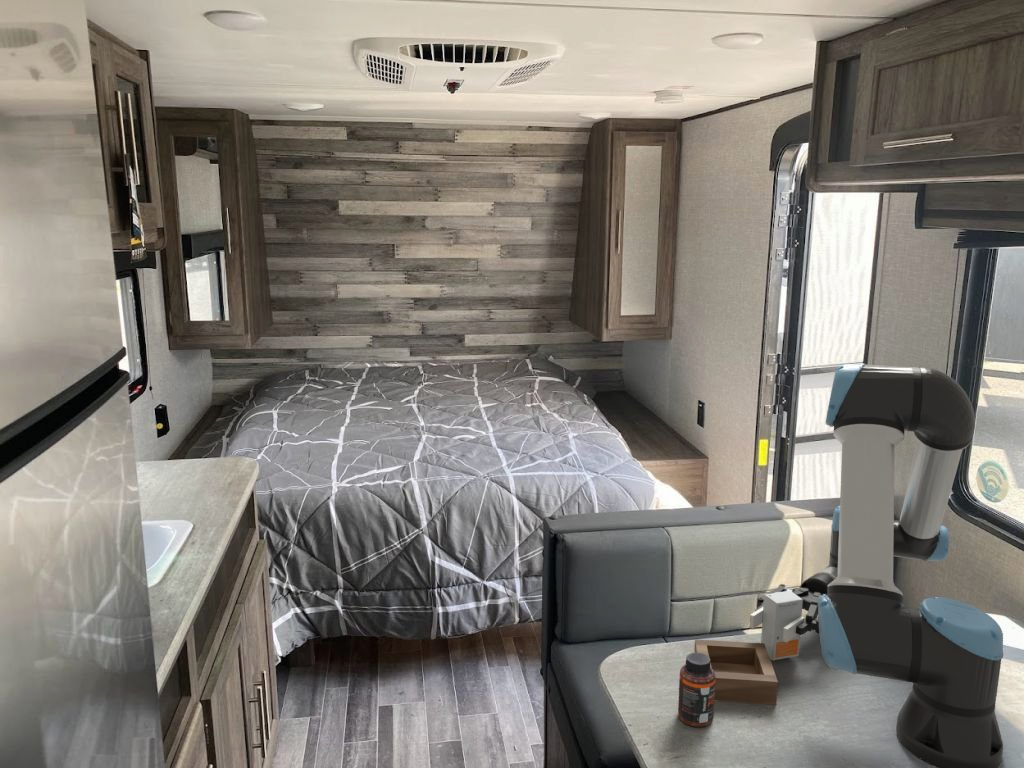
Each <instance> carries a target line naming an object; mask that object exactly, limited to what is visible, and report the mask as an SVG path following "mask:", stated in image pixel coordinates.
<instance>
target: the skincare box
mask: <svg viewBox="0 0 1024 768" xmlns="http://www.w3.org/2000/svg"><path fill="white" fill-rule="evenodd" d="M764 594H765V595H764ZM764 594H763V595H764V603H763V619H762V624H761V634H760V635H761V637H760V639H761V640H760V643H764V644H765V647H766V650H767V652H768V655H769V658H770V661H777V660H784V659H789V658H796V657H799V654H800V643H801V642H800V641H801V635H799V634H798V635H797V636H795V637H794V638H792V639H791V640H789V641H788V642H787V643H786V642H784V641H783V629H784V627H785V626H787V625H788V624H790V623H791V622H793V621H794V620H796V619H797V618H799V617H800V616H802V615H803V613H802V612H803V609H802V603H803V599H801V598H800V597H798V596H797V595H796V594H794V593H793V592H791V591H785V592H775V593H772V594H766V593H764ZM802 617H803V616H802Z"/></svg>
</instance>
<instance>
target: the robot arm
mask: <svg viewBox="0 0 1024 768" xmlns="http://www.w3.org/2000/svg"><path fill="white" fill-rule="evenodd" d="M975 417H976V416H975V411H974V407H973V405H972V402H971V400H970V398H969V396H968V394H967V393H966V391H965V390H964V389H963V388H962V386H961V384H960V383H958V382H957V381H956V380H955V379H953V377H952V376H950V375H948V374H947V373H945V372H943V371H941V370H938V369H936V368H931V367H929V366H903V365H902V366H899V365H897V366H896V365H885V364H884V365H880V364H866V363H861V364H860V363H859V364H854V363H853V364H845V363H844V364H842V365H840V366H838V367H837V369H835V373H834V377H833V381H832V387H831V391H830V397H829V402H828V406H827V412H826V418H825V425H827V426H828V427H830V428H833V437H834V438H835V439H836V440H837V441H838V442H839V443H840V444H841V467H840V468H841V469H840V470H841V471H840V491H839V492H840V494H839V495H840V496H839V497H840V498H839V505H838V506H836V507H835V509H834V510H833V514H832V523H831V527H830V528H831V533H830V547H829V548H830V550H829V559H828V566H826V567H825V568H823V569H821V570H820V571H818V572H816V573H815V574H813V575H812V576H810V577H809V578H806V579H805V580H804V581H803V582H802V583H801V585H800V586H799V587H795V588H793V589H789V588H787V587H786V584H784V583H780V584H779V585H778V586H777V588H774V589H772V590H770V591H768V592H766V593H764V594H762V595H760V596H758V597H757V601H756V608H755V609H754V612H752V613H751V614H750V615H749V629H752V630H753V629H755V628H757V627H758V626H760V625H762V619H763V603H764V595H765V594H772V593H775V592H785V591H791V592H793V593H794V594H796V595H797V596H798V597H800V598H801V599H803V603H802V610H805V611H806V612H807V613H806V614H805V617H804V616H800V617H799V618H797V619H796V620H794V621H793V622H791V623H790V624H788V625H787V626H785V627H784V629H783V641H784V642H786V643H787V642H788V641H789V640H791V639H792V638H794V637H795V636H797V635H798V634H799V635H800V636H803V635H804V634H806V633H808V632H812V631H815V634H817V635H819V640H820V647H821V648H820V649H821V656H822V658H823V660H824V663H825V664H826V665H827V666H828V667H830V668H831V669H834V670H837V671H838V670H839V671H843V672H848V673H851V674H852V675H862V676H863V675H864V676H870V677H877V678H881V679H882V678H883V679H888V680H894V681H902V682H906V683H907V682H909V683H912V688H911V691H910V692H909V694H908V696H907V698H906V699H905V701H904V703H903V705H902V707H901V709H900V711H899V713H898V714H897V718H896V726H895V731H896V732H895V733H896V735H897V738H898V740H899V741H900V744H901V745H903V746H904V747H905V748H906V749H907V751H909V752H910V753H911V754H912V755H914V756H915V757H917V758H918V759H920V760H922V761H924V762H926V763H928V764H930V765H933V766H934V767H937V768H999V766H1001V764H1002V761H1003V754H1004V744H1003V743H1004V741H1003V739H1002V735H1001V732H1000V728H999V723H998V720H997V716H996V711H995V710H996V704H997V703H996V702H997V694H998V686H999V681H1000V672H1001V671H1000V670H1001V666H1002V665H1001V664H1002V659H1003V658H1004V649H1003V648H1004V633H1003V630H1002V628H1001V626H1000V624H999V623H998V622H997V621H996V620H995V619H994V618H993V617H992V616H991V615H989V614H987V613H986V612H984V611H983V610H982V609H979V608H977V607H975V606H973V605H971V604H968V603H967V602H966V603H965V602H962V601H960V600H956V599H952V598H947V597H940V596H935V597H927V598H925V599H923V600H922V602H921V603H920V605H919V608H917V607H916V608H915V607H910V606H905V605H904V593H903V592H902V591H901V590H900V589H899V588H898V587H897V586H896V585H895V583H894V557H897V558H904V559H911V560H912V559H913V560H920V561H922V562H924V561H925V562H927V561H931V562H932V561H934V562H943V561H944V560H946V559H947V557H948V555H949V547H950V533H949V529H948V528H947V527H946V526H945V525H942V524H943V520H944V517H945V514H946V511H947V506H948V503H949V500H950V496H951V492H952V488H953V485H954V481H955V477H956V473H957V471H958V468H959V467H958V466H959V463H960V460H961V457H962V453H963V450H964V449H966V448H967V447H968V446H969V445H971V442H972V440H973V437H974V433H975V429H976V418H975ZM905 432H912V433H913V435H914V437H915V439H916V444H915V448H914V453H913V458H912V463H911V467H910V471H909V475H908V480H907V485H906V490H905V494H904V498H903V502H902V503H903V504H902V508H901V512H900V518H899V520H897V519H896V520H895V516H894V515H895V513H894V512H895V448H896V446H898V445H899V444H900V443H902V442H903V441H904V439H905Z"/></svg>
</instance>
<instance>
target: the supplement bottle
mask: <svg viewBox="0 0 1024 768" xmlns="http://www.w3.org/2000/svg"><path fill="white" fill-rule="evenodd" d="M685 659H686V660H685V663H684V664H683V665H682V666H681V668H680V670H679V680H678V681H679V682H678V683H679V684H678V705H677V706H678V707H677V710H678V711H677V715H678V717H679V719H680V720H681V722H683V723H684V724H685V725H688V726H691V727H696V728H703V727H707V726H709V725H711V723H712V722H713V720H714V713H715V712H714V711H715V701H714V696H715V672H714V671H713V669H712V668H711V667H710V658H709V657H708V656H707V655H705V654H703V653H696V652H695V653H694V652H690V653H688V654H687V655H686V657H685Z"/></svg>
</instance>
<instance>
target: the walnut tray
mask: <svg viewBox="0 0 1024 768" xmlns="http://www.w3.org/2000/svg"><path fill="white" fill-rule="evenodd" d="M695 652H696V653H703V654H705V655H707V656H708V657H709V658H710V667H711V668H712V669H713V671H714V672H715V696H714V702H715V701H716V702H728V703H729V702H730V703H743V704H746V703H747V704H759V705H774V706H775V705H776V706H777V704H778V703H777V702H778V685H779V681H778V678H777V676H776V672H775V669H774V667H773V663H772V660H771V659H770V658H769V655H768V652H767V650H766V647H765V644H764V643H761V642H750V641H749V642H748V641H747V642H746V641H731V640H730V641H729V640H715V639H697V638H695V639H694V652H693V653H695Z"/></svg>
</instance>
